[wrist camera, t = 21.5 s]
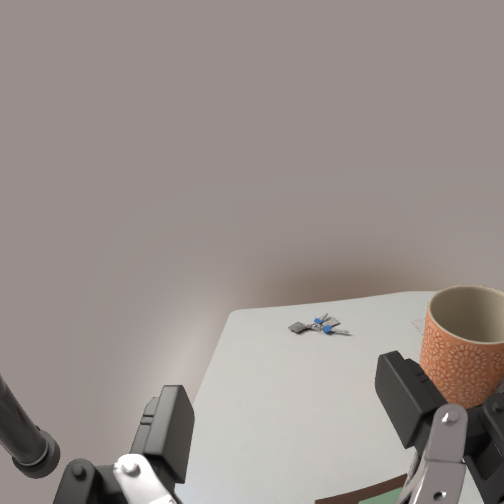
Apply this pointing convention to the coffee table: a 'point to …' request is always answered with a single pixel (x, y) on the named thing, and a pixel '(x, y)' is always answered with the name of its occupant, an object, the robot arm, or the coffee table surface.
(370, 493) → the mount block
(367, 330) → the coffee table surface
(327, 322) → the key chain
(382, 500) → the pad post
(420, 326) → the small white envelope
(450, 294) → the planter
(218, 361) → the coffee table surface
